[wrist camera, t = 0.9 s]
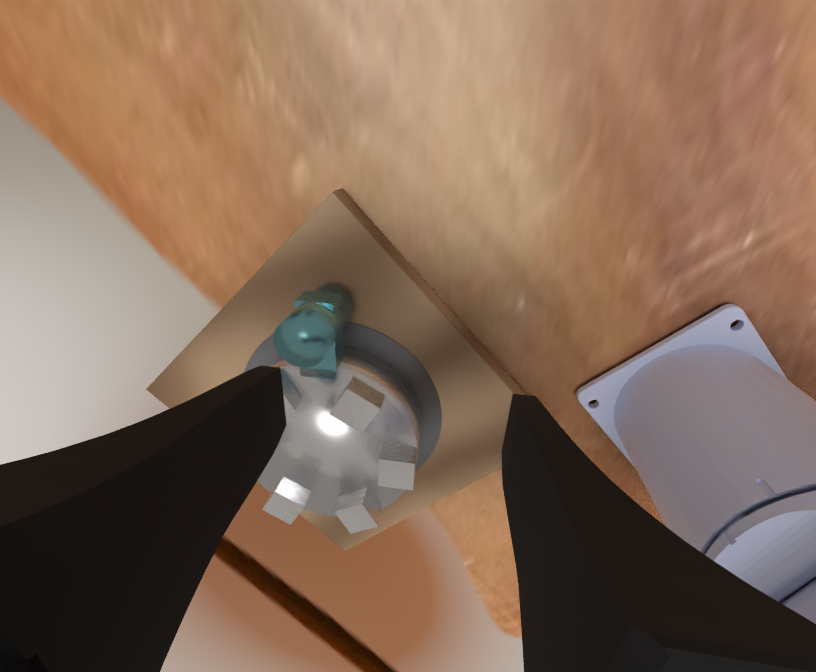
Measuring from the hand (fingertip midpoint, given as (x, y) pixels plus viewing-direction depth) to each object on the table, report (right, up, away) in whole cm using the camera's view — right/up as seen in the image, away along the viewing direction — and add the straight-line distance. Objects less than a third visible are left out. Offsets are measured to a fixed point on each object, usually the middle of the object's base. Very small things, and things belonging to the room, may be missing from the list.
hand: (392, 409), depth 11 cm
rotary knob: (-3, -1, +9) cm, 10 cm away
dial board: (-3, -1, +12) cm, 12 cm away
